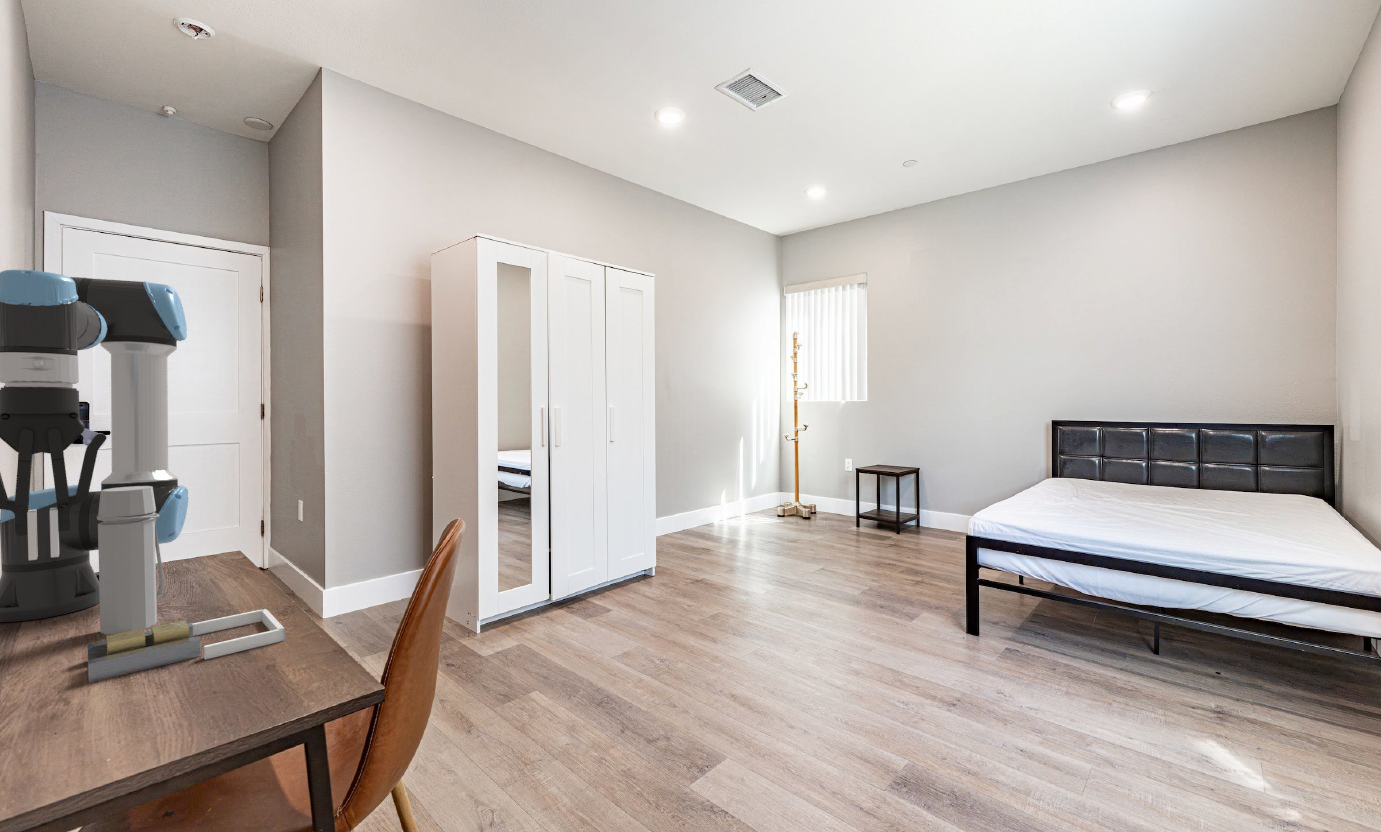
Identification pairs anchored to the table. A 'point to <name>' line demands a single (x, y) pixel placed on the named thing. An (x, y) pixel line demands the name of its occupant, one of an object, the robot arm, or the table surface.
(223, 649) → the white rectangular frame
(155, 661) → the slot rail
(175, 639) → the khaki cube block
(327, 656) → the table surface
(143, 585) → the water bottle
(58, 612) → the robot arm
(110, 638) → the tan cube block
